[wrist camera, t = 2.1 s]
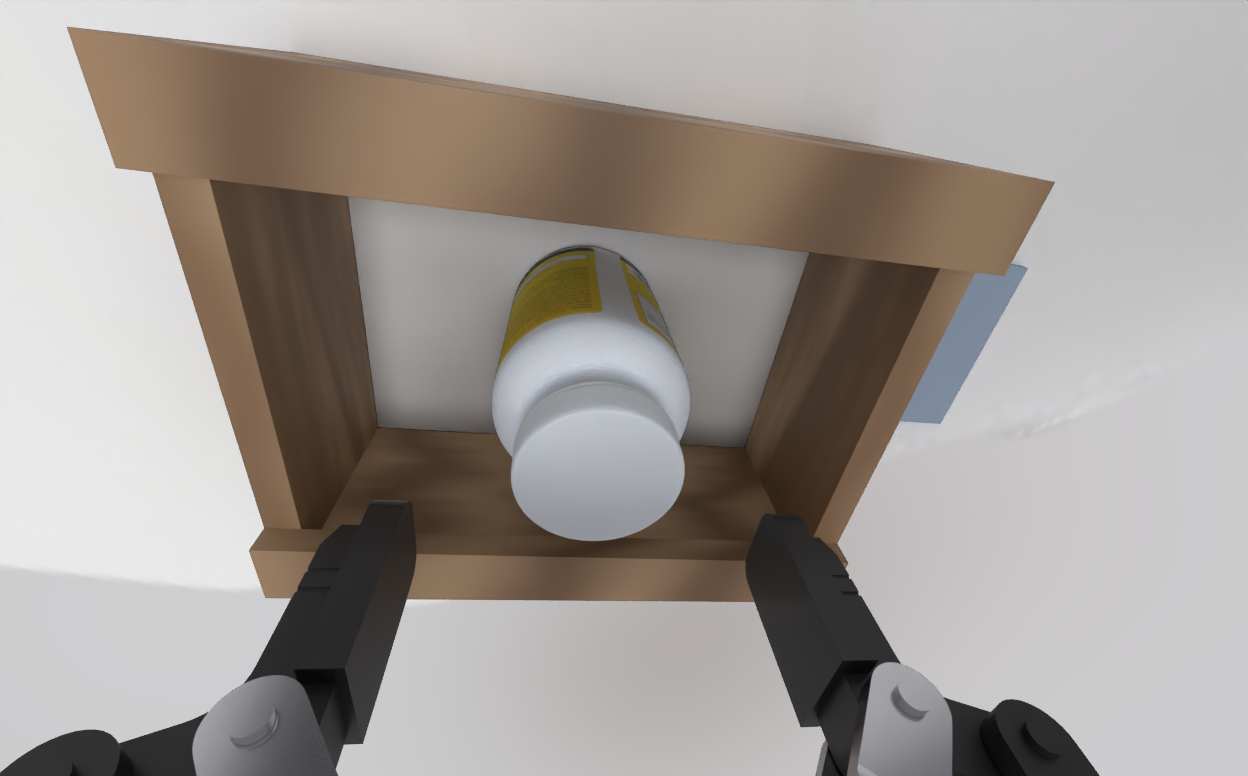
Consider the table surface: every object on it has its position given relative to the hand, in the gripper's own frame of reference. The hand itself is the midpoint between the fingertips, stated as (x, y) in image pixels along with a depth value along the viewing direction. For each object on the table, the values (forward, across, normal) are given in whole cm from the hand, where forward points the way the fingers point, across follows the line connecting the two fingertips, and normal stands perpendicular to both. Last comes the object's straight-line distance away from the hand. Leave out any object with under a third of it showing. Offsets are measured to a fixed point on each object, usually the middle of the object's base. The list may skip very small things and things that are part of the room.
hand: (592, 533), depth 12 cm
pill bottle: (+14, 0, 0) cm, 14 cm away
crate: (+14, 0, 0) cm, 14 cm away
